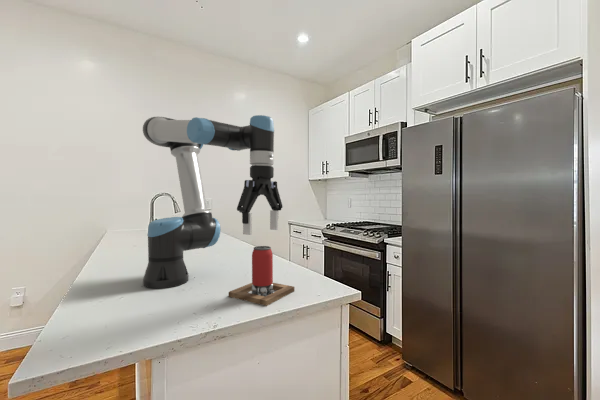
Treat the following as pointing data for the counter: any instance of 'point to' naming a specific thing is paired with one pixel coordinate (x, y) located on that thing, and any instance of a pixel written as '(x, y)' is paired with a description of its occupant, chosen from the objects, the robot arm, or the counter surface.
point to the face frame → (263, 300)
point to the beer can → (262, 266)
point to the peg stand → (262, 290)
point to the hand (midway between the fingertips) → (261, 232)
